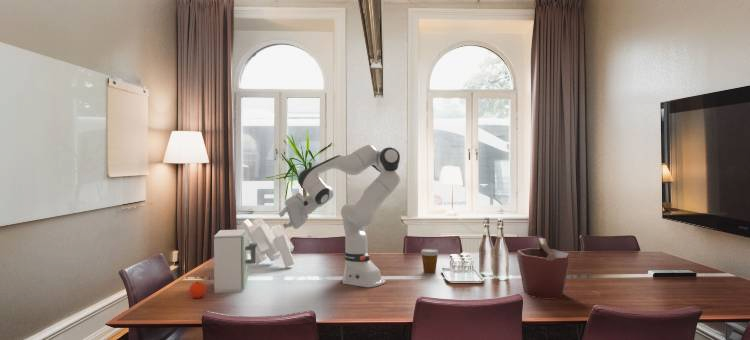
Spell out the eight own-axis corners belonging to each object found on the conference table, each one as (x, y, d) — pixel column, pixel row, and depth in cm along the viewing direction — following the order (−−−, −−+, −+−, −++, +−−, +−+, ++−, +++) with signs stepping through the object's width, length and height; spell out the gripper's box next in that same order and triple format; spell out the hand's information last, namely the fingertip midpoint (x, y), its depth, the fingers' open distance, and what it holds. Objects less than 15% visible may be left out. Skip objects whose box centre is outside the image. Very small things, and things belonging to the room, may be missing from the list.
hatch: (258, 278, 220) (258, 229, 220) (255, 288, 202) (255, 235, 201) (245, 278, 219) (245, 230, 219) (242, 289, 200) (241, 236, 200)
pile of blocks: (300, 269, 265) (284, 216, 276) (297, 260, 237) (280, 202, 248) (243, 288, 257) (229, 233, 268) (233, 281, 229) (218, 220, 240)
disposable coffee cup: (418, 273, 233) (418, 251, 233) (423, 269, 242) (423, 248, 242) (436, 275, 230) (436, 252, 230) (440, 271, 239) (440, 249, 238)
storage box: (245, 280, 218) (245, 229, 218) (241, 291, 201) (241, 235, 200) (220, 282, 216) (219, 230, 216) (214, 292, 198) (213, 236, 198)
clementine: (203, 293, 197) (203, 278, 197) (211, 296, 193) (211, 280, 193) (186, 297, 191) (186, 281, 191) (194, 301, 187) (194, 284, 187)
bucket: (565, 305, 182) (565, 245, 182) (511, 297, 193) (511, 241, 192) (570, 290, 203) (571, 237, 203) (522, 283, 214) (522, 233, 214)
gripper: (305, 215, 232) (283, 229, 226) (297, 190, 217) (274, 204, 211) (311, 222, 228) (289, 237, 222) (304, 197, 214) (280, 212, 208)
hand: (281, 221), depth 217 cm, fingers open, 8 cm apart
